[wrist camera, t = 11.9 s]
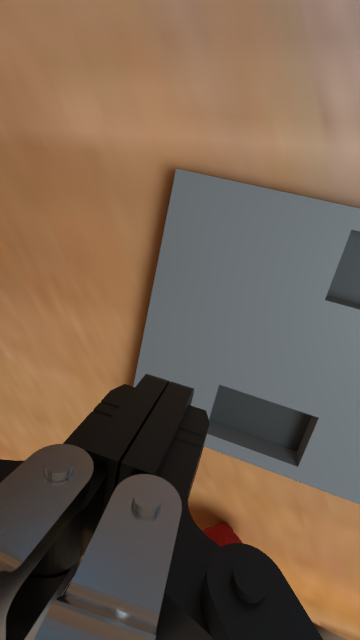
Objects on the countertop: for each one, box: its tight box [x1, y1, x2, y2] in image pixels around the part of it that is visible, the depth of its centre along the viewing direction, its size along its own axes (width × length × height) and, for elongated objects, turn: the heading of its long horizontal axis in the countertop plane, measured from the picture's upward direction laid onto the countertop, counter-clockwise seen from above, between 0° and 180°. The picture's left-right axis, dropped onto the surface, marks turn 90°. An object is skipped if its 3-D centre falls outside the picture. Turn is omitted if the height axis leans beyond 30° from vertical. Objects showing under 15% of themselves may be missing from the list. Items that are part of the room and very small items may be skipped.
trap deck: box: [133, 169, 360, 504], centre depth 29 cm, size 24×30×4 cm
